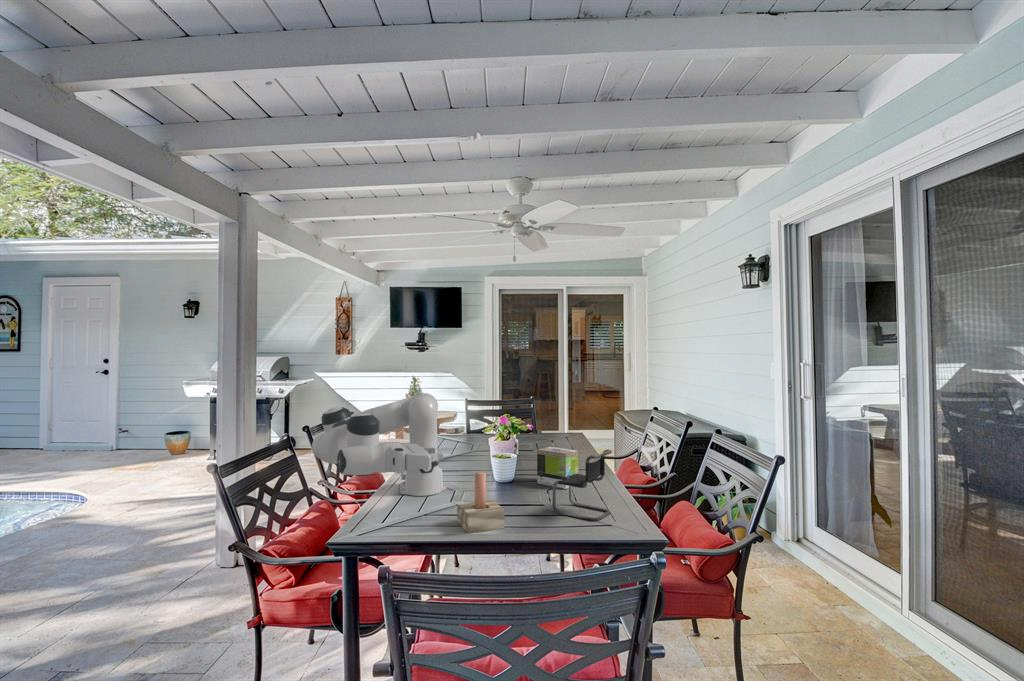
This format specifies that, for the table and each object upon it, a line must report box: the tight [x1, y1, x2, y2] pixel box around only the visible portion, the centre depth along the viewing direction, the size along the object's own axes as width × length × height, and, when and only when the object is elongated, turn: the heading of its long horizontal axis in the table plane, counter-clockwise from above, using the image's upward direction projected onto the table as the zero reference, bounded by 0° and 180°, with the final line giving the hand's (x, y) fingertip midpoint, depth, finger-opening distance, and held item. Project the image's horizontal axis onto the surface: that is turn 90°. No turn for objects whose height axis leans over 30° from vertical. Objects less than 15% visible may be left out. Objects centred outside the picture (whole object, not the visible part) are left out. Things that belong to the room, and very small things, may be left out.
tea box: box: [536, 446, 579, 490], centre depth 219 cm, size 15×10×15 cm, turn 49°
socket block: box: [456, 499, 505, 534], centre depth 168 cm, size 12×12×6 cm
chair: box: [552, 449, 613, 522], centre depth 181 cm, size 13×17×22 cm
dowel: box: [474, 471, 487, 509], centre depth 169 cm, size 4×4×15 cm
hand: (438, 453), depth 163 cm, fingers open, 8 cm apart
